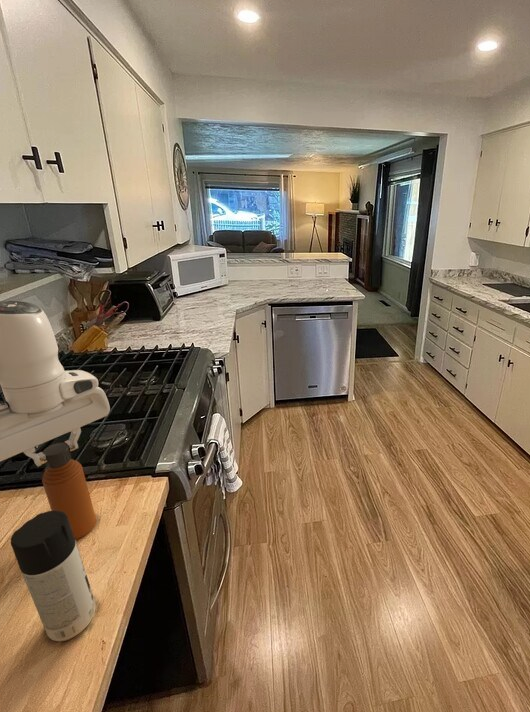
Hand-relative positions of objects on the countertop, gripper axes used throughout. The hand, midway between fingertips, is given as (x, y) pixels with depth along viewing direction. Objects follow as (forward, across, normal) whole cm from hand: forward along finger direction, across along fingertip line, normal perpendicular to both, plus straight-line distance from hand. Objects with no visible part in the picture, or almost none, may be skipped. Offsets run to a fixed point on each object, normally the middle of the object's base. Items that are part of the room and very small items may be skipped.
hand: (57, 455), depth 68 cm
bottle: (+18, 0, 0) cm, 18 cm away
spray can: (+18, -9, -19) cm, 27 cm away
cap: (+1, 0, 0) cm, 1 cm away
